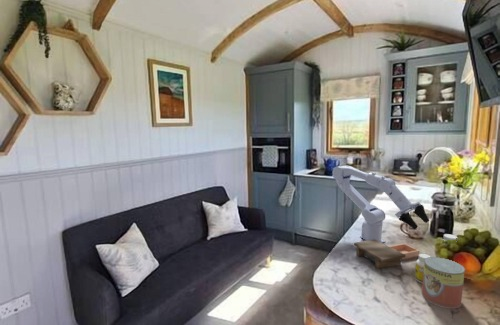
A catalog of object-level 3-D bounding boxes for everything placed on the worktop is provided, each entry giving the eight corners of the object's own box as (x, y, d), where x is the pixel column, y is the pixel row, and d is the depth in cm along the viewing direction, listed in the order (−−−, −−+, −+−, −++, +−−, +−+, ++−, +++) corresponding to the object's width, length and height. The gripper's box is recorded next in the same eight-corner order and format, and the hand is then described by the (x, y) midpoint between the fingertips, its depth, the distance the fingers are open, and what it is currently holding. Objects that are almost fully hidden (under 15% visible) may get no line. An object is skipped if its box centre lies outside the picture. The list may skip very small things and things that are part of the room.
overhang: (353, 253, 130) (353, 242, 129) (374, 249, 134) (374, 239, 133) (381, 271, 114) (382, 259, 113) (404, 266, 118) (405, 254, 117)
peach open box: (387, 252, 131) (387, 246, 130) (403, 249, 134) (404, 243, 134) (401, 260, 123) (402, 254, 123) (419, 256, 127) (419, 250, 126)
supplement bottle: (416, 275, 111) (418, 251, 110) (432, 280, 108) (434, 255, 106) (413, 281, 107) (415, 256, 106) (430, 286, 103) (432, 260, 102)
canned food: (414, 292, 99) (416, 260, 98) (435, 285, 104) (438, 254, 102) (447, 312, 89) (451, 276, 88) (469, 303, 94) (473, 269, 92)
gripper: (393, 200, 126) (416, 227, 119) (415, 190, 131) (438, 215, 125) (385, 208, 131) (407, 234, 125) (406, 198, 137) (428, 222, 130)
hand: (422, 225), depth 125 cm, fingers open, 7 cm apart
